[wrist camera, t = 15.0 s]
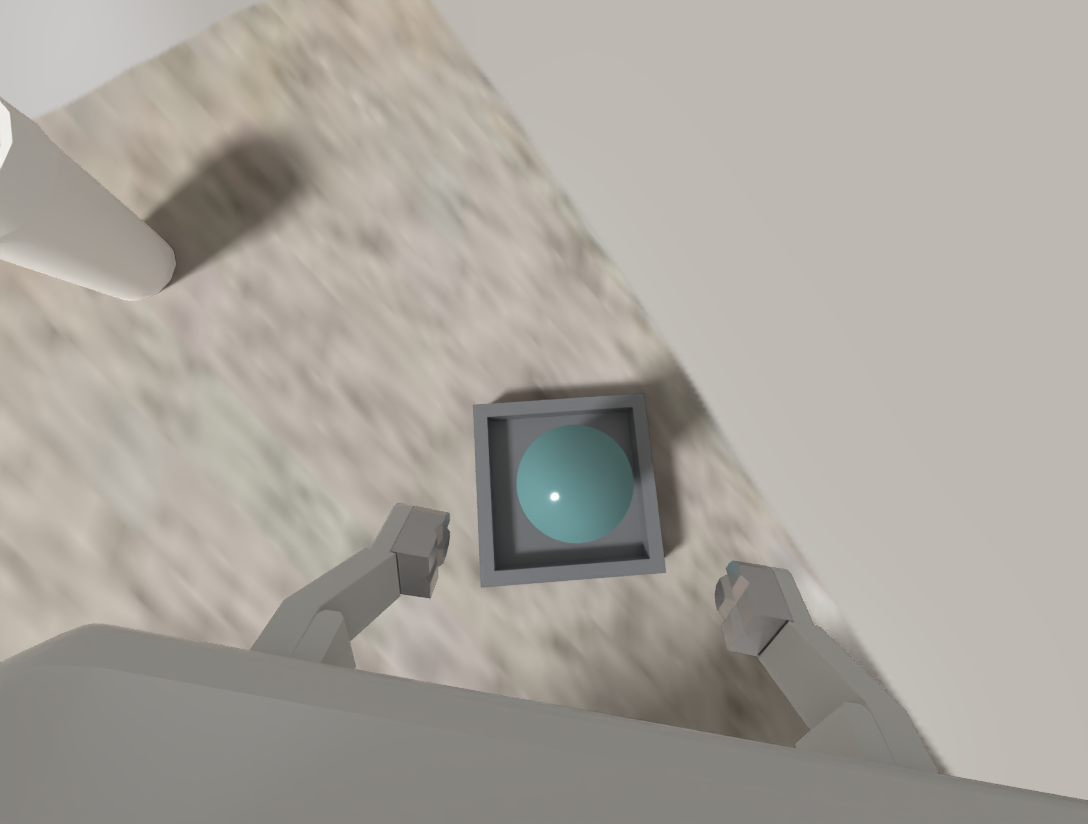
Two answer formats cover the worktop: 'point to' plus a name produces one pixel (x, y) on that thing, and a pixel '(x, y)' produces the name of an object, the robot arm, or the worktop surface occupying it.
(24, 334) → the worktop surface
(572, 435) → the teal cylinder
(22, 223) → the foam cup
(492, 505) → the tray
